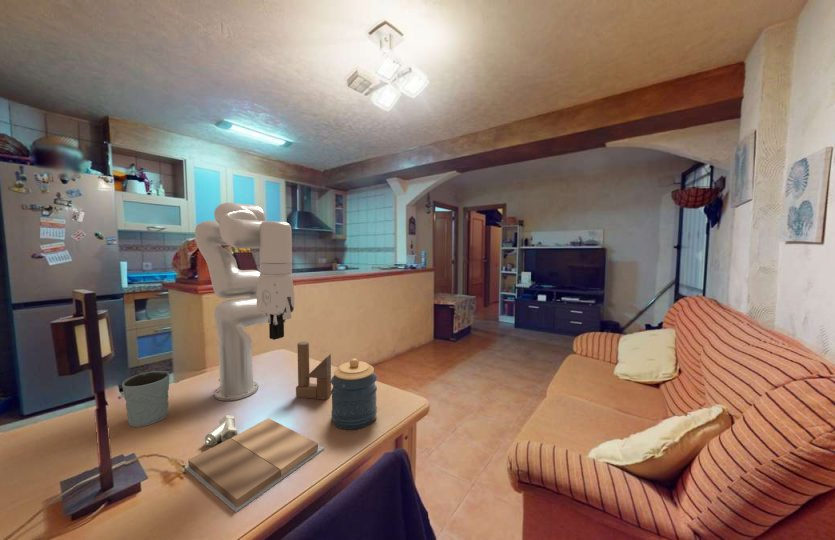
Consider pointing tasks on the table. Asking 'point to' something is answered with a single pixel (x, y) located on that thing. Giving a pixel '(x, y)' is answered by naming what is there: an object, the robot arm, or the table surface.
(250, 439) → the plank
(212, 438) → the pipe fitting
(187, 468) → the underlay mat
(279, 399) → the table surface
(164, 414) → the grey pot
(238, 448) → the floor board
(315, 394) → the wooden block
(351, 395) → the canister
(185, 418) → the table surface
